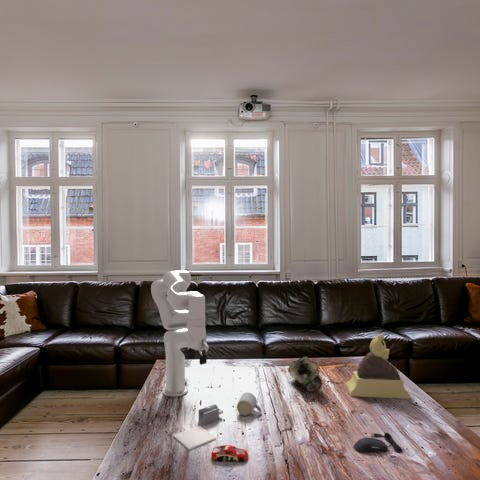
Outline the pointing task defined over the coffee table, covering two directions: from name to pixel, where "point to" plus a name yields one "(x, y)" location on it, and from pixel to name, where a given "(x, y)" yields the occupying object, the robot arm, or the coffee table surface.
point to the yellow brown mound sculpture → (377, 375)
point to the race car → (229, 454)
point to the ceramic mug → (248, 405)
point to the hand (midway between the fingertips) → (197, 361)
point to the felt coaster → (194, 437)
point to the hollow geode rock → (306, 374)
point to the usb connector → (209, 414)
